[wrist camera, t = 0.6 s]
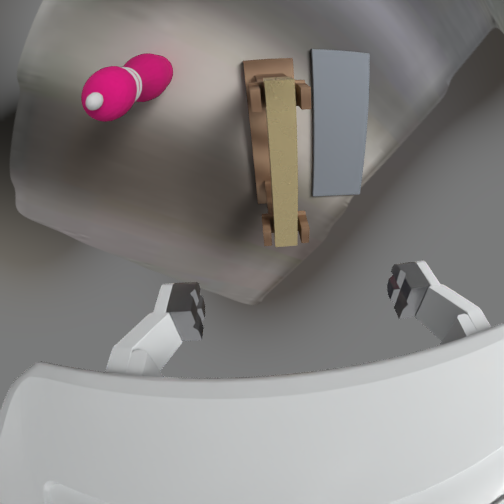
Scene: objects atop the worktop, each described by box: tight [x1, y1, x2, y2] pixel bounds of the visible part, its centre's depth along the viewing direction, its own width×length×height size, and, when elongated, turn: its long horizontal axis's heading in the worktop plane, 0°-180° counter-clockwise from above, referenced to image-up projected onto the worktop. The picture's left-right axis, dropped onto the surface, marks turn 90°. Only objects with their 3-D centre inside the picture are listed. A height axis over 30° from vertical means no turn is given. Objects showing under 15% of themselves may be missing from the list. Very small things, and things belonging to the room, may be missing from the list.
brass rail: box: [263, 77, 298, 247], centre depth 32 cm, size 22×3×2 cm, turn 5°
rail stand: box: [243, 58, 311, 246], centre depth 36 cm, size 25×7×15 cm, turn 5°
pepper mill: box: [81, 54, 173, 121], centre depth 26 cm, size 7×7×20 cm
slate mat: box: [311, 49, 369, 196], centre depth 40 cm, size 26×9×1 cm, turn 5°
